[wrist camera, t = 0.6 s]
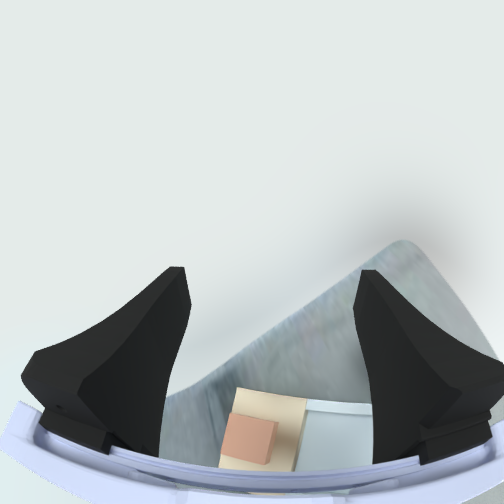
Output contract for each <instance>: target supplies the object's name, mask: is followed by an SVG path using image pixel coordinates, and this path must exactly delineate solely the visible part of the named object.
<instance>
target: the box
mask: <svg viewBox="0 0 504 504" xmlns="http://www.w3.org/2000/svg"><path fill="white" fill-rule="evenodd" d="M305 410H308V415H307V420H306V425H305V430H304V434H303V439H302V443H301V447H300V452H299V456H298V460H297V464H296V468H295V472H298V471H320V470H333V469H343V468H352V467H360V466H367V465H372V458H373V415H372V404H365V403H348V402H335V401H324V400H314V399H307V404H306V409H305ZM352 489H353V488H352ZM350 490H351V489H345V490H336V491H325V492H310V493H285V495H314V494H339V495H347V494H349V491H350Z"/></svg>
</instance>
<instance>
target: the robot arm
mask: <svg viewBox="0 0 504 504" xmlns="http://www.w3.org/2000/svg"><path fill="white" fill-rule="evenodd" d="M191 305H192V304H191V299H190V295H189V290H188V285H187V280H186V274H185V269H184V267H169V268H168V269H167V270H165V271H164V272H163V273H162V274H161V275H160V276H158V277H157V278H156V279H155V280H154V281H153V282H152V283H151V284H149V285H148V286H147V287H146V288H145V289H144V290H143V291H141V292H140V293H139V294H138V295H137V296H135V297H134V298H133V299H132V300H130V301H129V302H128V303H127V304H125V305H124V306H123V307H122V308H120V309H119V310H118V311H116V312H115V313H114V314H112V315H110V316H109V317H107V318H106V319H104V320H103V321H101V322H100V323H98V324H96V325H94V326H93V327H91V328H89V329H87V330H86V331H84V332H82V333H80V334H78V335H76V336H74V337H72V338H70V339H67V340H65V341H63V342H60V343H58V344H56V345H52V346H50V347H47V348H44V349H41V350H38V351H36V352H34V354H33V356H32V357H31V359H30V361H29V362H28V364H27V366H26V367H25V369H24V371H23V373H22V374H21V379H22V382H23V383H24V385H25V386H26V388H27V389H28V390H29V391H30V392H31V394H32V395H34V397H35V398H36V399H37V400H38V401H39V402H40V403H41V404H42V405H43V406H44V407H45V410H44V412H43V414H42V413H41V412H40V411H38V410H37V409H35V408H33V407H31V406H29V405H27V404H25V403H23V402H21V401H18V402H17V405H16V406H15V408H14V410H13V412H12V414H11V416H10V419H9V421H8V423H7V425H6V427H5V429H4V432H3V434H2V436H1V438H0V450H2V451H3V452H5V453H6V454H7V455H9V456H10V457H11V458H13V459H15V460H16V461H17V462H19V463H20V464H22V465H23V466H25V467H26V468H28V469H29V470H31V471H33V472H34V473H36V474H38V475H39V476H40V477H42V478H44V479H46V480H47V481H49V482H51V483H53V484H54V485H56V486H58V487H60V488H62V489H64V490H65V491H67V492H70V493H71V494H74V495H75V496H77V497H80V498H82V499H84V500H86V501H88V502H90V503H93V504H461V503H463V502H465V501H467V500H469V499H472V498H474V497H476V496H478V495H480V494H482V493H483V492H485V491H487V490H489V489H491V488H493V487H495V486H496V485H498V484H500V483H502V482H503V481H504V419H503V420H501V421H499V422H497V423H495V424H493V425H492V426H489V423H488V420H490V419H491V413H490V409H491V408H492V407H493V406H494V405H495V404H496V403H497V402H498V401H499V400H500V399H501V398H502V396H503V395H504V364H503V363H502V362H500V361H498V360H496V359H493V358H491V357H489V356H486V355H484V354H482V353H480V352H478V351H476V350H474V349H472V348H470V347H469V346H467V345H465V344H463V343H462V342H460V341H458V340H457V339H455V338H454V337H452V336H451V335H449V334H448V333H446V332H445V331H443V330H442V329H441V328H439V327H438V326H437V325H435V324H434V323H433V322H431V321H430V320H429V319H428V318H426V317H425V316H424V315H423V314H422V313H421V312H419V311H418V310H417V309H416V308H415V307H414V306H413V305H412V304H411V303H410V302H408V301H407V300H406V299H405V298H404V297H403V296H402V295H401V294H400V293H399V292H398V291H397V290H396V289H395V288H394V287H393V286H392V285H391V284H390V283H389V282H388V281H387V280H386V279H385V278H384V277H383V276H382V275H381V274H380V273H379V272H378V271H376V270H362V272H361V276H360V281H359V285H358V290H357V294H356V298H355V302H354V306H353V311H354V318H355V325H356V330H357V334H358V338H359V342H360V345H361V349H362V353H363V356H364V360H365V364H366V368H367V372H368V377H369V383H370V391H371V401H372V415H373V458H372V465H367V466H360V467H352V468H343V469H333V470H320V471H298V472H270V471H247V470H234V469H223V468H215V467H207V466H200V465H193V464H187V463H182V462H176V461H171V460H166V459H161V458H158V457H159V443H160V432H161V424H162V416H163V410H164V404H165V398H166V393H167V388H168V383H169V378H170V374H171V371H172V368H173V364H174V362H175V359H176V356H177V353H178V350H179V347H180V345H181V342H182V339H183V336H184V333H185V330H186V327H187V324H188V320H189V315H190V310H191ZM165 480H166V481H165ZM168 481H171V482H168ZM172 482H175V483H180V484H186V485H191V486H197V487H204V488H211V489H219V490H228V491H239V492H254V493H310V492H325V491H336V490H345V489H351V490H350V491H349V494H347V495H339V494H314V495H251V494H237V493H227V492H218V491H210V490H200V489H192V488H182V489H179V488H177V487H176V485H175V484H174V483H172ZM352 488H353V489H352Z"/></svg>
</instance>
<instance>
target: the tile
mask: <svg viewBox="0 0 504 504" xmlns="http://www.w3.org/2000/svg"><path fill="white" fill-rule="evenodd" d="M278 424H279V422H275V421H270V420H265V419H260V418H255V417H250V416H245V415H241V414H237V413H230V415H229V419H228V423H227V428H226V432H225V436H224V440H223V444H222V448H221V452H220V454H223V455H226V456H230V457H233V458H237V459H240V460H244V461H248V462H252V463H256V464H260V465H266V464H268V463H269V462H270V458H271V454H272V450H273V446H274V441H275V437H276V433H277V428H278Z"/></svg>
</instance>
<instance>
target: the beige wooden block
mask: <svg viewBox="0 0 504 504" xmlns="http://www.w3.org/2000/svg"><path fill="white" fill-rule="evenodd" d="M306 404H307V398H299V397H291V396H284V395H278V394H271V393H265V392H259V391H254V390H248V389H243V388H238V387H237V391H236V396H235V400H234V404H233V408H232V412H231V413H237V414H241V415H245V416H250V417H255V418H260V419H265V420H270V421H275V422H279V424H278V428H277V433H276V437H275V441H274V446H273V450H272V454H271V458H270V462H269V463H268V464H266V465H260V464H256V463H252V462H248V461H244V460H240V459H237V458H233V457H230V456H226V455H223V454H221V458H220V462H219V466H218V468H223V469H234V470H247V471H270V472H295V468H296V464H297V460H298V456H299V452H300V447H301V443H302V439H303V434H304V430H305V425H306V420H307V415H308V410H305V409H306ZM247 493H251V494H255V495H285V493H254V492H247Z"/></svg>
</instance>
